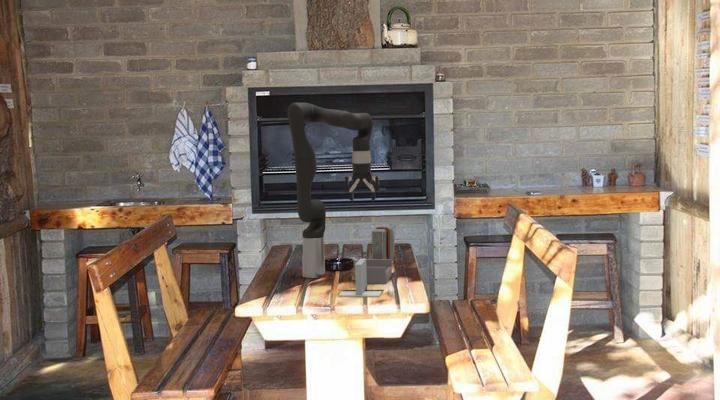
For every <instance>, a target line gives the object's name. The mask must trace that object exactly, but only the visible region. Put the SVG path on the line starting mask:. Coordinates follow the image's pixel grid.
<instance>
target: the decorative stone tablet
mask: <svg viewBox="0 0 720 400" xmlns="http://www.w3.org/2000/svg"><path fill="white" fill-rule="evenodd" d="M395 244H396V243H395V234H394V230H393V228H392V227H391V226H388V227H386V226H378V227H376V228H374V229H372V230H371V259H391V266H392V265H393V262H394V258H395V246H396V245H395Z"/></svg>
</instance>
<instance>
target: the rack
mask: <svg viewBox="0 0 720 400" xmlns="http://www.w3.org/2000/svg"><path fill="white" fill-rule="evenodd" d="M366 268H367V285H386V284H387V283H388V282H389V280H390V278H391V277H392V274H393V273H392V265H391V259H372V258H366Z"/></svg>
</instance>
